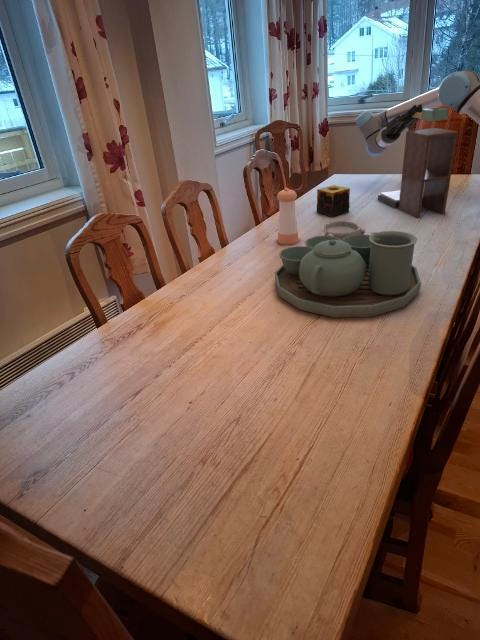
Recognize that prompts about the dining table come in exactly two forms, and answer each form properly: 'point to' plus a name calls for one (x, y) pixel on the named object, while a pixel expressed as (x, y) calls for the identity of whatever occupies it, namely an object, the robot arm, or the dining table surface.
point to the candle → (333, 200)
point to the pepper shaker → (287, 217)
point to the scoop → (432, 114)
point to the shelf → (433, 176)
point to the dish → (342, 229)
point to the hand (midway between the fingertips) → (418, 108)
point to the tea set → (350, 274)
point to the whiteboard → (390, 198)
